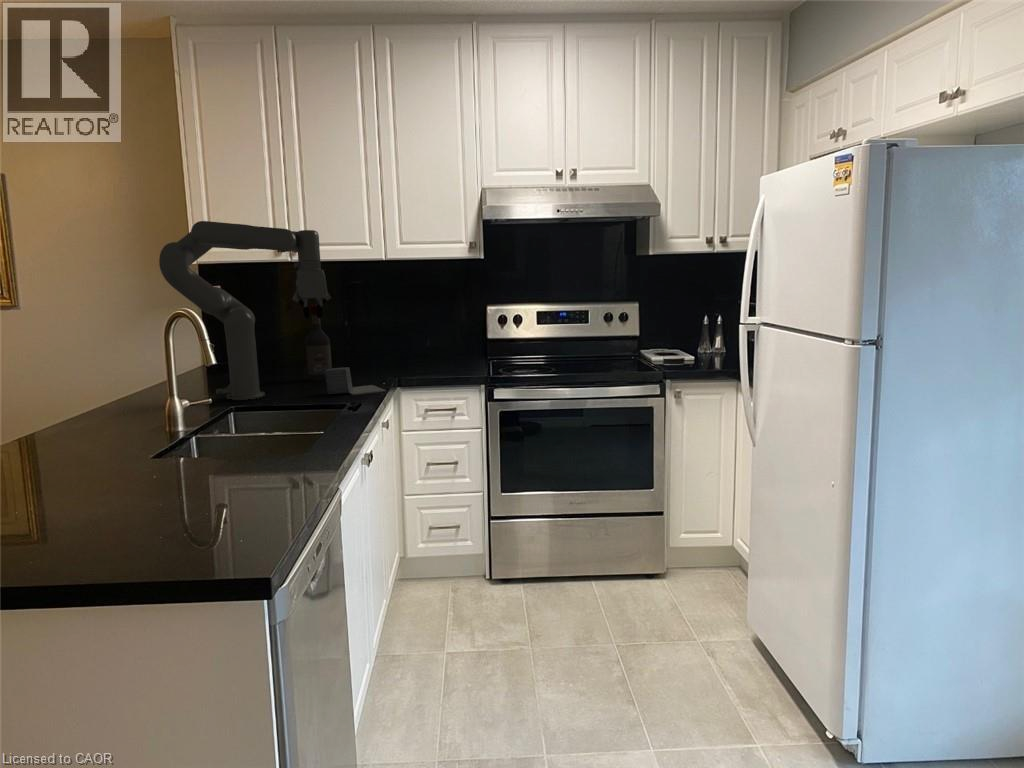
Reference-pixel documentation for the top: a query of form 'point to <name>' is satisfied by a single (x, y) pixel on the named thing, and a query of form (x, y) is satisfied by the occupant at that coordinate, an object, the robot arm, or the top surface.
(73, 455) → the top surface
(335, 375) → the medicine box
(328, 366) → the liquor
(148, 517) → the top surface
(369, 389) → the mat
